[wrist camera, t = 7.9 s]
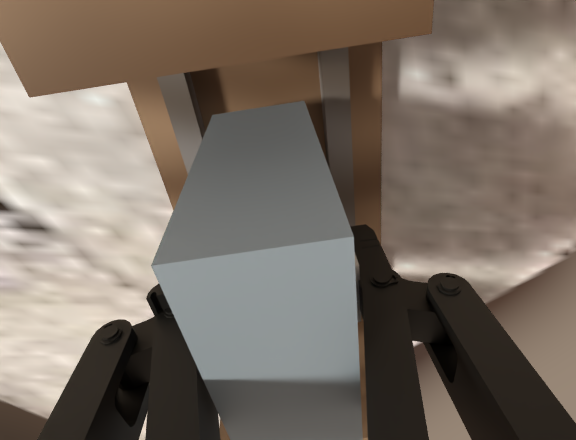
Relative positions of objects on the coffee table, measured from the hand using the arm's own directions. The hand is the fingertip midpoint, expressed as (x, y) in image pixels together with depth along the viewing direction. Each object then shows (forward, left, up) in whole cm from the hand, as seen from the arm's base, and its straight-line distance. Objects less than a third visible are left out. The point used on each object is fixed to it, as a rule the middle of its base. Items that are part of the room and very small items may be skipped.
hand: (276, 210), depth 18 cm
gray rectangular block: (0, 0, 0) cm, 0 cm away
